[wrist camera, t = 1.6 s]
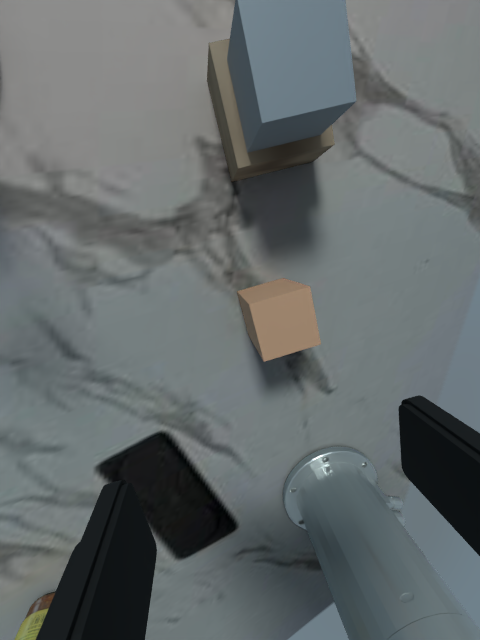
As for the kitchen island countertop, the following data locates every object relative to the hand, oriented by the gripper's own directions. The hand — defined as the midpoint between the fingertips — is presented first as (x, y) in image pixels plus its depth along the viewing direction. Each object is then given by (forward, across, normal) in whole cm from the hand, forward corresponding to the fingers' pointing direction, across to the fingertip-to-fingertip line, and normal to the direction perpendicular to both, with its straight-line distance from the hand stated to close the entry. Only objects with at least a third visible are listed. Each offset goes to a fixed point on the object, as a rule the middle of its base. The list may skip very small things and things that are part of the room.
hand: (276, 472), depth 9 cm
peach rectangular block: (+20, -5, -1) cm, 20 cm away
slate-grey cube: (+16, -7, -17) cm, 24 cm away
